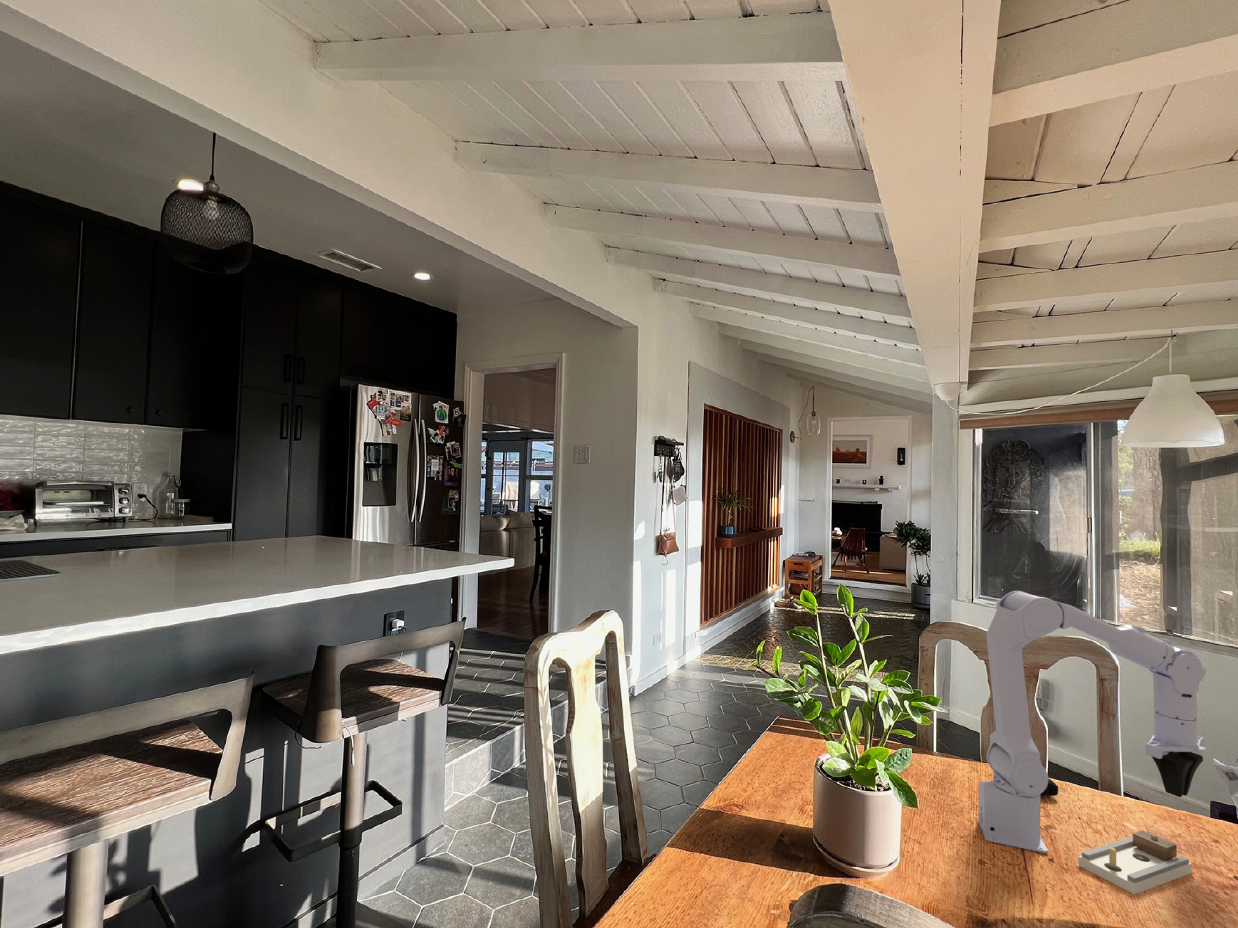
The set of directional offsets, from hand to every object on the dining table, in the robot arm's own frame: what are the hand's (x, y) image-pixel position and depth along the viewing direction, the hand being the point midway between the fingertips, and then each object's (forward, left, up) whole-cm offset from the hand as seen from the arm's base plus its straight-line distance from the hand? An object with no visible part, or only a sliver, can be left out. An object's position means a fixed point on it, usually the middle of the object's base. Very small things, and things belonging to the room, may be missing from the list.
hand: (1176, 793), depth 107 cm
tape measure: (-17, +18, -11) cm, 27 cm away
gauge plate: (-10, -10, -10) cm, 17 cm away
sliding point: (-5, -5, -9) cm, 11 cm away
